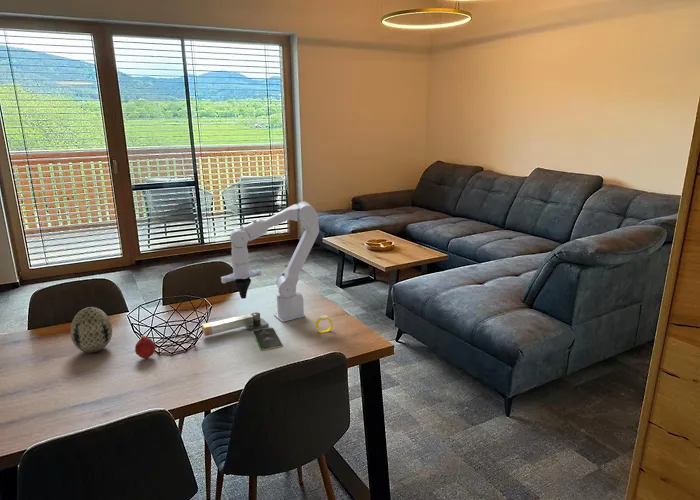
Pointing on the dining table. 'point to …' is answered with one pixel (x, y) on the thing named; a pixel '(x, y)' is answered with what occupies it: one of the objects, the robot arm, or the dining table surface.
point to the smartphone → (267, 339)
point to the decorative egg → (91, 330)
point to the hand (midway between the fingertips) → (243, 297)
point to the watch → (324, 317)
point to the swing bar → (230, 323)
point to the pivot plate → (258, 325)
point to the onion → (145, 347)
